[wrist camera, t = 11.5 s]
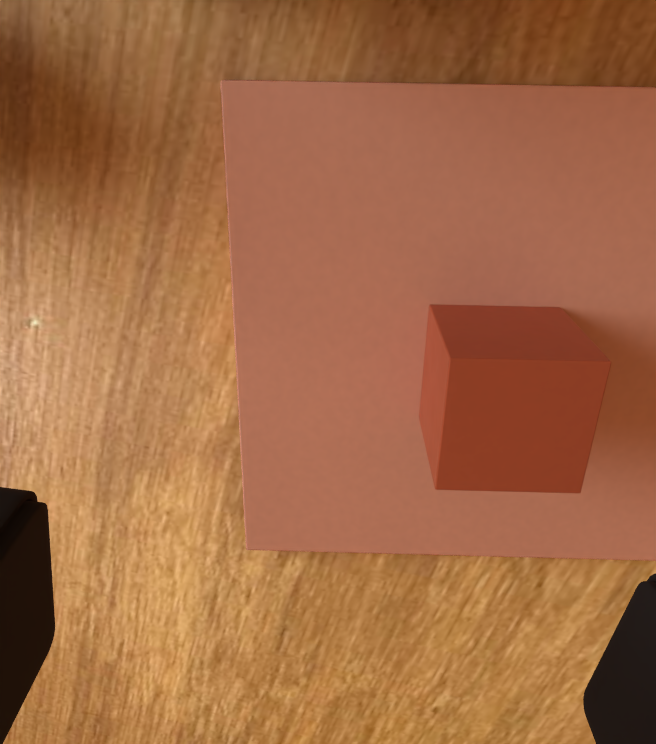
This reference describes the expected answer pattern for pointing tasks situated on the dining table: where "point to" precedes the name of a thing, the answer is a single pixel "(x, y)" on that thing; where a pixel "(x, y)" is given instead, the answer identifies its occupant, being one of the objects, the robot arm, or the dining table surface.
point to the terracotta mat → (432, 301)
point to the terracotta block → (509, 398)
